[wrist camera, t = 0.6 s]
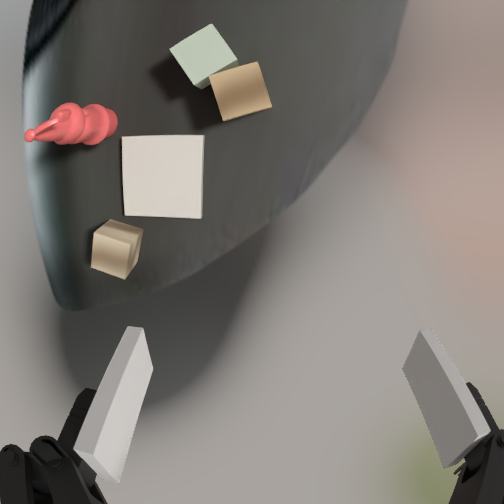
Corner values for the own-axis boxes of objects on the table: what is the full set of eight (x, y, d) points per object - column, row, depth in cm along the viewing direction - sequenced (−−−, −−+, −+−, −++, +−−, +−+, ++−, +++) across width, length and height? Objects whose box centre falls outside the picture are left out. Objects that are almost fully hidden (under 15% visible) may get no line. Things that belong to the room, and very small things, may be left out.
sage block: (180, 57, 29) (169, 49, 24) (217, 35, 28) (211, 23, 23) (201, 89, 30) (193, 85, 26) (239, 67, 29) (237, 59, 25)
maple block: (110, 218, 37) (93, 232, 33) (143, 229, 38) (129, 244, 33) (106, 250, 39) (91, 267, 35) (137, 261, 40) (124, 279, 35)
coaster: (125, 136, 32) (122, 136, 32) (204, 134, 33) (203, 135, 32) (127, 212, 37) (124, 215, 36) (202, 215, 37) (200, 218, 36)
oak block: (214, 81, 30) (208, 75, 26) (256, 69, 29) (257, 61, 25) (227, 120, 32) (223, 120, 28) (269, 108, 32) (272, 106, 27)
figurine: (115, 95, 30) (41, 92, 17) (127, 132, 32) (57, 146, 19) (83, 113, 31) (4, 121, 17) (94, 148, 33) (19, 172, 19)
